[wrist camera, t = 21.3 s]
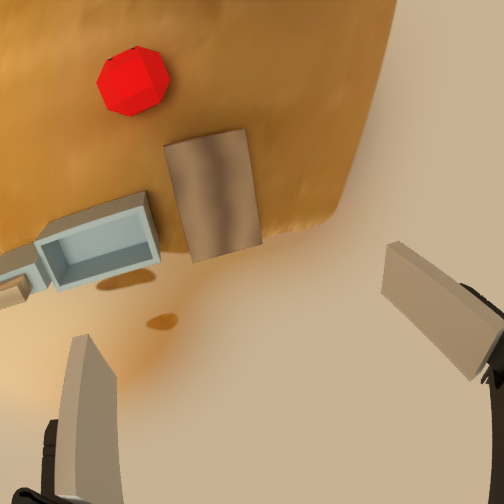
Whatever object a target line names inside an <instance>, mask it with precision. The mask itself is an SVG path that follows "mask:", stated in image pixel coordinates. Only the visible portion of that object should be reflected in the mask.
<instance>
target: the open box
mask: <svg viewBox="0 0 504 504" xmlns="http://www.w3.org/2000/svg"><path fill="white" fill-rule="evenodd" d="M34 244H35V246H36V249H37V251H38V253H39V255H40V258H41V260H42V262H43V264H44V266H45V268H46V270H47V272H48V274H49V276H50V278H51V280H52V282H53V284H54V286H55V288H56V290H57V292H60V291H64V290H67V289H71V288H74V287H77V286H80V285H84V284H87V283H91V282H94V281H98V280H101V279H105V278H108V277H111V276H115V275H118V274H122V273H125V272H129V271H132V270H136V269H139V268H143V267H146V266H150V265H153V264H157V263H160V262H161V258H160V240H159V236H158V233H157V230H156V226H155V223H154V220H153V216H152V213H151V209H150V206H149V202H148V199H147V195H146V191H142V192H139V193H135V194H132V195H129V196H125V197H122V198H119V199H116V200H113V201H109V202H106V203H103V204H100V205H97V206H94V207H91V208H88V209H85V210H83V211H80V212H77V213H74V214H71V215H68V216H66V217H63V218H60V219H58V220H55V221H52V222H50V223H49V224H48V225H47V226H46V227H45V229H44V230H43V231H42V232H41V233H40V235H39V236H38V237H37V239H36V240H35V241H34Z"/></svg>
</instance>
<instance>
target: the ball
mask: <svg viewBox="0 0 504 504" xmlns="http://www.w3.org/2000/svg"><path fill="white" fill-rule="evenodd" d="M96 83H97V86H98V88H99V90H100V93H101V95H102V98H103V100H104V102H105V105H106V107H107V109H108V110H110V111H114V112H117V113H120V114H123V115H127V116H134V115H136V114H138V113H140V112H142V111H144V110H147V109H149V108H151V107H153V106H155V105H157V104H159V103H160V102H161V100H162V98H163V96H164V93H165V91H166V89H167V87H168V85H169V83H170V78H169V75H168V73H167V71H166V68H165V66H164V63H163V61H162V58H161V56H160V53H158V52H155V51H152V50H149V49H146V48H143V47H139V46H135V47H134V48H132V49H129V50H126V51H124V52H122V53H120V54H118V55H116V56H114V57H113V58H111V59H109V60H106V62H105V65H104V67H103V69H102V71H101V73H100V76H99V78H98V80H97V82H96Z"/></svg>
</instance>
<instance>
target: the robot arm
mask: <svg viewBox="0 0 504 504" xmlns="http://www.w3.org/2000/svg"><path fill="white" fill-rule="evenodd" d="M381 294H382V295H384V296H385V297H386V298H387V299H388V300H389V301H390V302H391V303H392V304H393V305H394V306H395V307H396V308H397V309H399V310H400V311H401V312H402V313H403V314H404V315H405V316H406V317H407V318H408V319H409V320H410V321H411V322H412V323H413V324H414V325H415V326H416V327H417V328H418V329H419V330H420V331H421V332H422V333H423V334H424V335H425V336H426V337H427V338H428V339H429V340H430V341H431V342H432V343H433V344H434V345H435V346H436V347H437V348H438V349H439V350H440V351H441V352H442V353H443V354H444V355H445V356H446V357H447V358H448V359H449V360H450V361H451V362H452V363H453V364H454V365H455V366H456V367H457V368H458V369H459V370H460V371H461V372H462V374H463V375H464V376H465V377H466V378H467V379H468V380H469V381H471V380H473V379H474V378H475V377H476V376H477V375H478V374H479V373H480V372H481V371H482V369H483V368H484V366H485V364H486V363H488V364H489V365H490V366H489V367H488V369H487V371H486V372H485V374H484V375H483V377H482V379H481V384H483V383H484V381H485V380H486V378H487V377H488V379H487V381H486V384H489V387H490V398H491V410H492V470H491V484H490V493H489V501H488V504H504V313H503V312H502V311H501V310H499V309H498V308H497V307H496V306H494V305H493V304H492V303H491V302H489V301H487V300H486V298H484V297H483V296H482V295H481V296H480V294H479V293H478V292H477V291H475V290H474V289H473V288H471V287H469V286H467V285H465V284H462V283H460V284H459V283H457V282H456V281H455V280H453V279H452V278H451V277H449V276H448V275H446V274H445V273H444V272H442V271H441V270H440V269H438V268H437V267H436V266H434V265H433V264H431V263H430V262H429V261H427V260H426V259H424V258H423V257H421V256H420V255H419V254H417V253H416V252H414V251H413V250H411V249H410V248H408V247H407V246H405V245H404V244H402V243H401V242H399V241H397V242H394V243H391V244H388V245H387V247H386V257H385V266H384V274H383V282H382V290H381ZM118 453H119V452H118V433H117V376H116V375H115V373H114V372H113V371H112V369H111V368H110V366H109V365H108V363H107V362H106V361H105V359H104V358H103V356H102V355H101V353H100V352H99V350H98V348H97V347H96V346H95V344H94V342H93V341H92V339H91V337H90V336H89V334H86V335H81V336H77V337H73V339H72V343H71V348H70V352H69V357H68V362H67V367H66V372H65V378H64V384H63V390H62V397H61V404H60V411H59V419H57V420H50V422H49V424H48V426H47V428H46V430H45V435H44V447H43V458H42V475H41V494H39V493H36V492H35V491H33V490H31V489H29V488H20V489H18V490H17V491H16V492H15V494H14V495H13V498H12V504H124V502H123V495H122V486H121V477H120V466H119V454H118Z"/></svg>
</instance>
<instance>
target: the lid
mask: <svg viewBox="0 0 504 504" xmlns="http://www.w3.org/2000/svg"><path fill="white" fill-rule="evenodd" d="M163 146H164V151H165V156H166V160H167V164H168V169H169V173H170V177H171V181H172V186H173V190H174V194H175V198H176V202H177V206H178V210H179V214H180V218H181V221H182V225H183V229H184V233H185V236H186V240H187V244H188V247H189V251H190V255H191V258H192V261H193V263H196V262H200V261H203V260H207V259H210V258H214V257H217V256H221V255H224V254H228V253H232V252H235V251H239V250H243V249H246V248H249V247H253V246H257V245H261V244H262V237H261V230H260V223H259V216H258V209H257V203H256V196H255V189H254V182H253V176H252V169H251V163H250V156H249V149H248V143H247V136H246V130H245V129H242V128H240V129H234V130H229V131H224V132H219V133H214V134H209V135H205V136H200V137H196V138H191V139H187V140H183V141H179V142H175V143H171V144H167V145H163Z"/></svg>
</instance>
